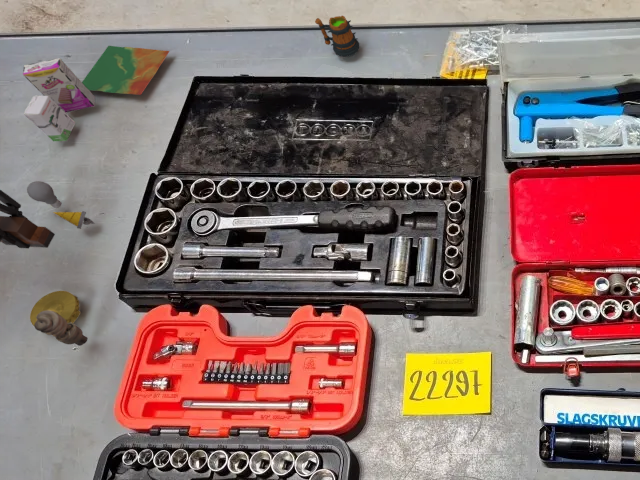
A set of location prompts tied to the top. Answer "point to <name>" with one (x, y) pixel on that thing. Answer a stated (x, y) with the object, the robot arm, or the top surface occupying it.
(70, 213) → the drill bit
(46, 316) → the brown lumpy elongated piece
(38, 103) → the ink box
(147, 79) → the terrain model
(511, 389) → the top surface
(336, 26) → the mug
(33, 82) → the candy bar box
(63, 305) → the yellow round disc
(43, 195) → the light bulb
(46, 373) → the top surface
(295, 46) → the top surface
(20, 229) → the brown stepped block
